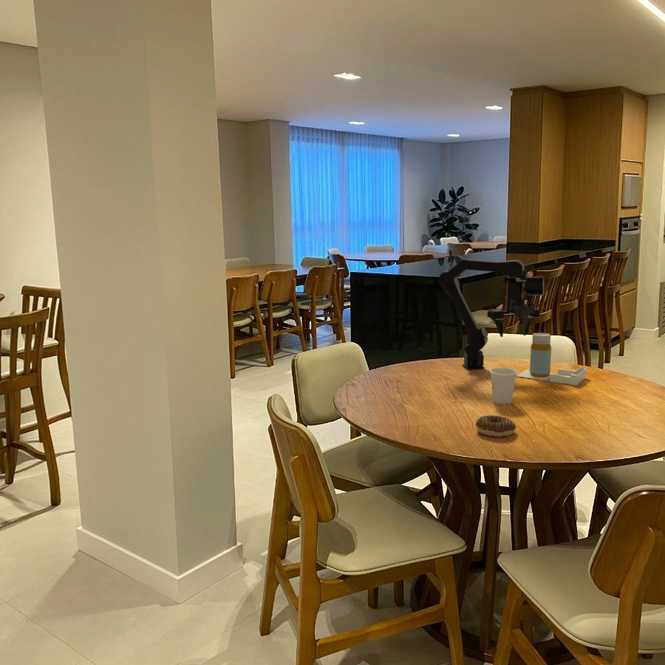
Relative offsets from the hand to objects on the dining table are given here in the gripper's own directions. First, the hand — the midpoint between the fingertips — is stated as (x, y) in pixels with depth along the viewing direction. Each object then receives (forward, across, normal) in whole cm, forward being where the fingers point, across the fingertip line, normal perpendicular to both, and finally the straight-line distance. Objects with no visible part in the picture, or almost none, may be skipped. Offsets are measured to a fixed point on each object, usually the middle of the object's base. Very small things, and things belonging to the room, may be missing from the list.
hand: (513, 336), depth 245 cm
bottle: (+13, +5, -11) cm, 18 cm away
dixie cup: (+13, -22, -37) cm, 45 cm away
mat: (+13, +5, -10) cm, 17 cm away
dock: (+13, +12, -18) cm, 25 cm away
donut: (+14, -37, -63) cm, 74 cm away
